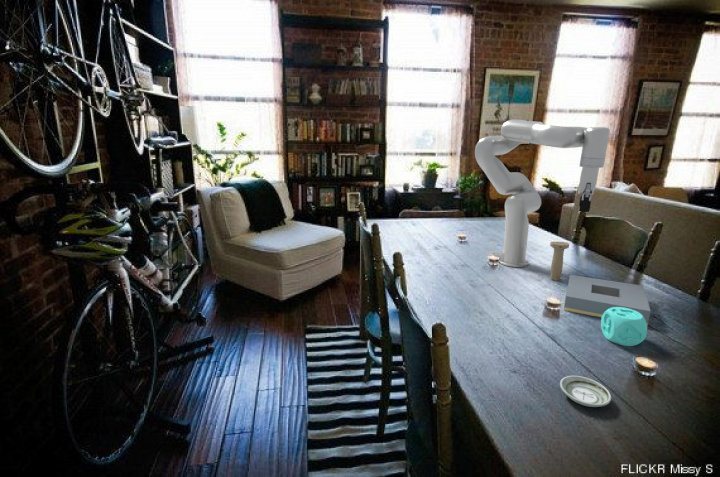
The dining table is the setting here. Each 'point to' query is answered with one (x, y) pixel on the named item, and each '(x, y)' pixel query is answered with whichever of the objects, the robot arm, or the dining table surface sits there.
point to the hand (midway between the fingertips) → (583, 209)
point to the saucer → (585, 391)
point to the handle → (557, 259)
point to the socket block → (604, 296)
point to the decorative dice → (623, 326)
